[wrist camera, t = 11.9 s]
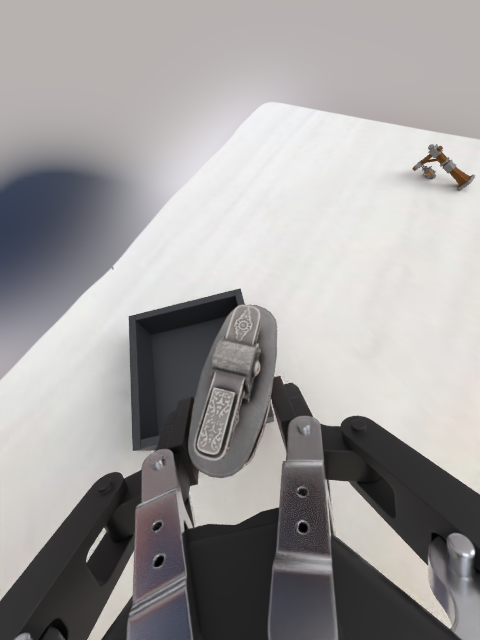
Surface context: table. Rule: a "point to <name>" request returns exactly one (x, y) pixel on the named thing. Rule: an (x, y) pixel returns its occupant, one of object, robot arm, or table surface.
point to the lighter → (234, 393)
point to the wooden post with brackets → (444, 166)
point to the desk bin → (172, 359)
